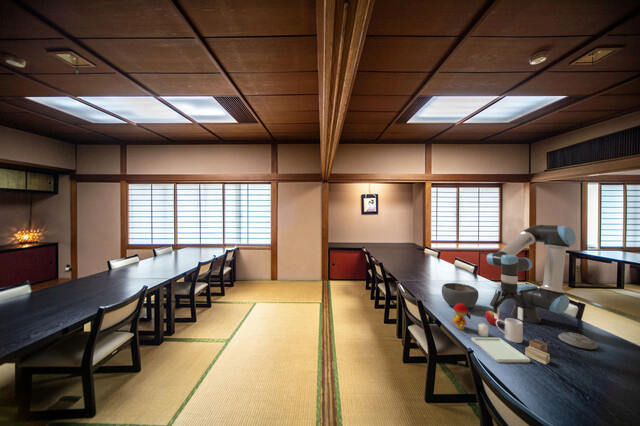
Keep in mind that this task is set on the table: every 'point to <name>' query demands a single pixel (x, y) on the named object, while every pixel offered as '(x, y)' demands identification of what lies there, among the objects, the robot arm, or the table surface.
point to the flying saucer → (577, 340)
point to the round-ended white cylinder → (483, 329)
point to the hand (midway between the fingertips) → (508, 319)
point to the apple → (492, 317)
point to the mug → (513, 330)
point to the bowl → (459, 294)
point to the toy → (461, 315)
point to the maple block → (537, 355)
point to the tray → (500, 350)
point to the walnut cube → (538, 345)
